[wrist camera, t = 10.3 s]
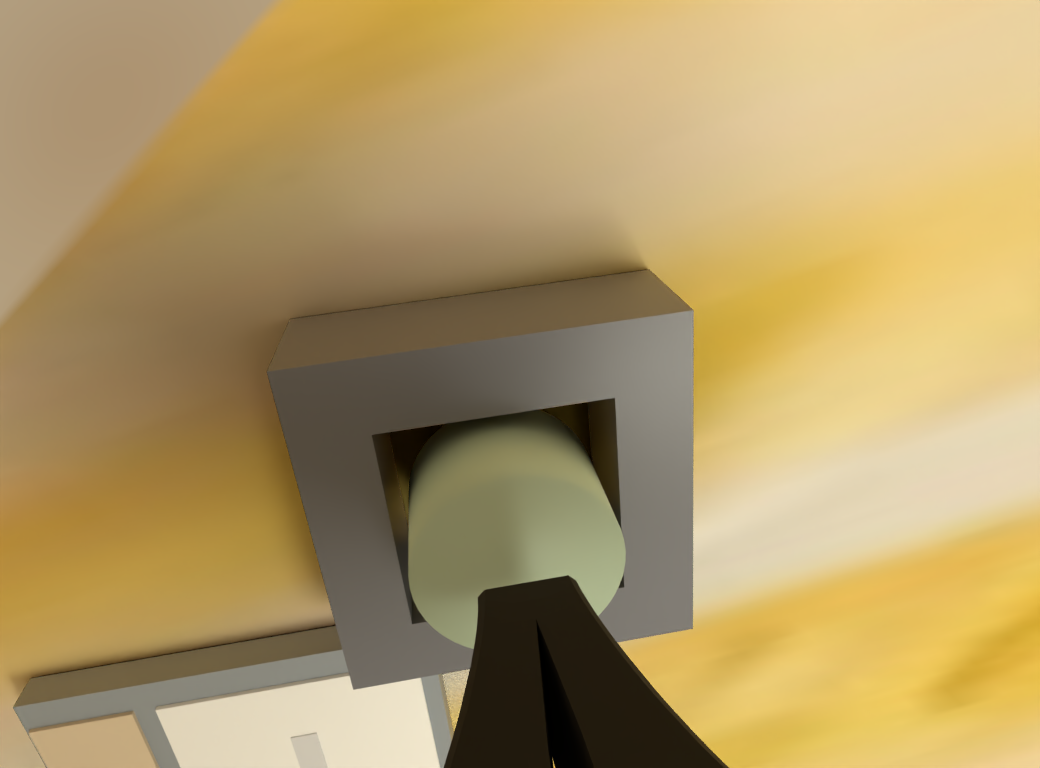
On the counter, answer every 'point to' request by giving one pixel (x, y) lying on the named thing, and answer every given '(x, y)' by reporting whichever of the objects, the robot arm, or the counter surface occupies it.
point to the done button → (506, 517)
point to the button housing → (479, 394)
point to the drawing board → (237, 711)
